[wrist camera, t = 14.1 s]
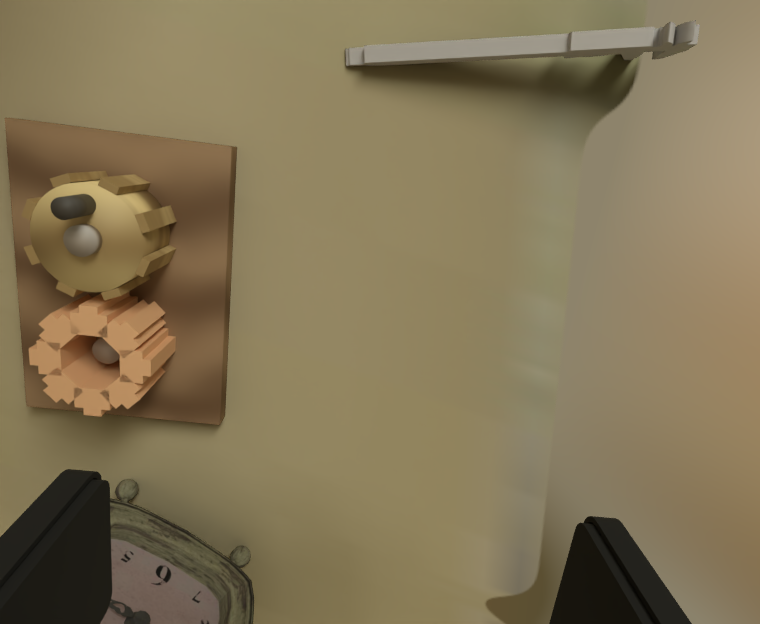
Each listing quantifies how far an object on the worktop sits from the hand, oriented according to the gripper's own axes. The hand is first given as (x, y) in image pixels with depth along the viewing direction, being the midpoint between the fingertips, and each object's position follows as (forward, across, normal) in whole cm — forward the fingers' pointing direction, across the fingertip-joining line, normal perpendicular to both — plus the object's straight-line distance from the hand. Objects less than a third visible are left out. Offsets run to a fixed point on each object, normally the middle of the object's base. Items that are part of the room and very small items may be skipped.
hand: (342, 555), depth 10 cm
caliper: (+29, -8, -15) cm, 33 cm away
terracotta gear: (+27, +16, +7) cm, 32 cm away
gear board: (+28, +16, +3) cm, 33 cm away
